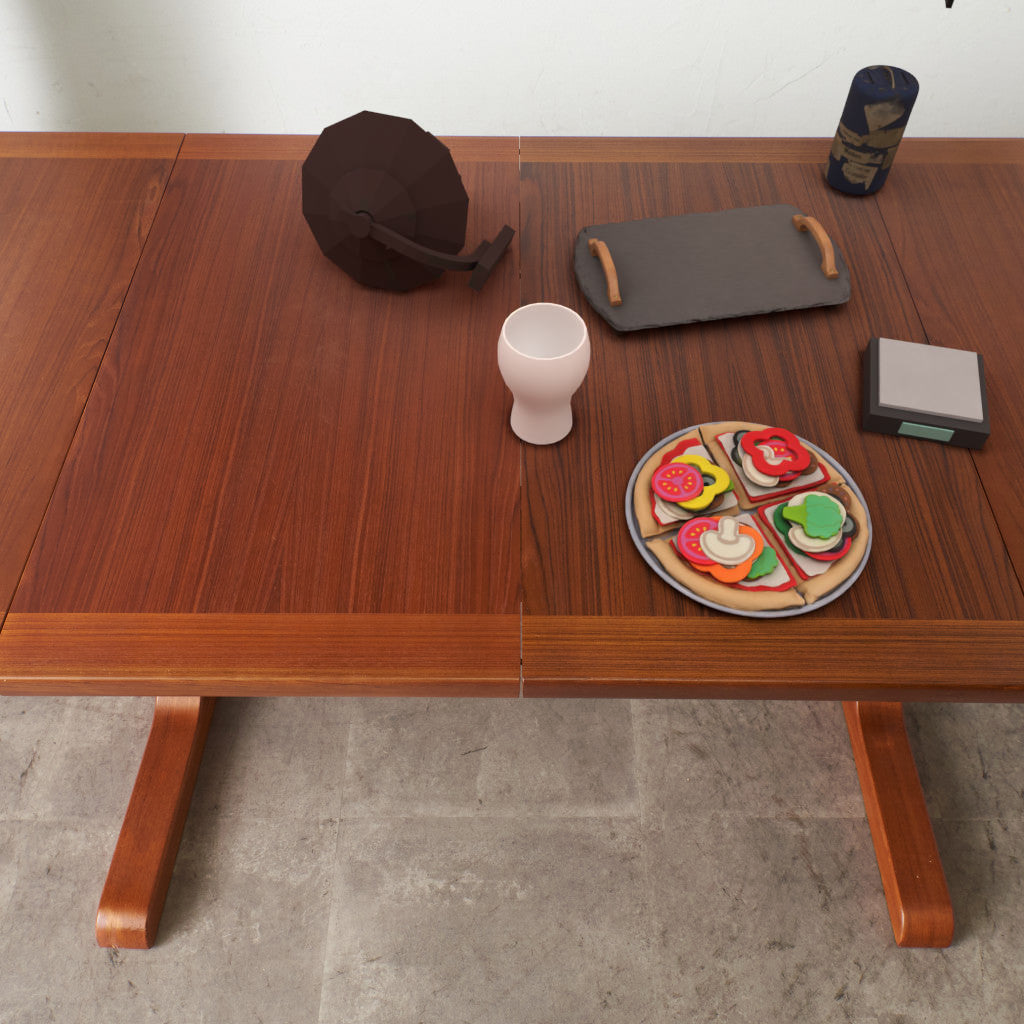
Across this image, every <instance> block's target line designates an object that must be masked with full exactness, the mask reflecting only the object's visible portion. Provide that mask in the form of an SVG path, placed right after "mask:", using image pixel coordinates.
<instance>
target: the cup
mask: <svg viewBox="0 0 1024 1024" xmlns="http://www.w3.org/2000/svg"><path fill="white" fill-rule="evenodd" d="M590 359H591V342H590V336H589V331H588V328H587V326H586V323H585V321H584V319H583V318H582V317H581V316H580V315H579V313H577V312H576V311H574V310H573V309H571V308H569V307H566V306H564V305H562V304H558V303H552V302H536V303H530V304H529V303H528V304H527V305H524V306H521V307H519V308H517V309H515V310H514V311H513V312H511V313H510V314H509V315H508V317H506V318H505V321H504V322H503V325H502V328H501V329H500V334H499V337H498V341H497V365H498V368H499V371H500V375H501V376H502V379H503V381H504V384H505V385H506V386H507V388H508V389H509V390H510V392H511V393H512V396H513V404H512V409H511V415H510V426H511V429H512V431H513V433H514V434H515V435H516V436H517V437H518V438H520V439H521V440H522V441H524V442H527V443H530V444H533V445H550V444H554V443H557V442H559V441H561V440H563V439H564V438H565V437H567V435H568V434H569V433H570V432H571V430H572V427H573V413H572V412H573V411H572V406H571V401H572V396H573V395H574V394H575V393H576V392H577V390H578V389H579V387H580V386H581V385H582V383H583V381H584V379H585V377H586V375H587V373H588V370H589V366H590V362H591V360H590Z"/></svg>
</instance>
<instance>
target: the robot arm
mask: <svg viewBox="0 0 1024 1024" xmlns="http://www.w3.org/2000/svg"><path fill="white" fill-rule="evenodd" d="M954 2H955V0H944V4H945V9H952V8H953V6H954Z"/></svg>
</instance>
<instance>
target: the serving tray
mask: <svg viewBox="0 0 1024 1024" xmlns="http://www.w3.org/2000/svg"><path fill="white" fill-rule="evenodd" d="M572 249H573V250H572V251H573V253H572V260H573V266H572V271H573V273H574V276H575V279H576V282H577V284H578V287H579V291H580V292H581V293H582V295H583V296H584V298H585V300H586V301H587V302H588V303H589V306H591V308H593V310H594V311H595V312H596V313H597V314H598V315H599V316H600V317H601V318H602V319H604V321H606V323H607V324H608V325H610V329H611V332H612V333H613V335H614V336H615V337H617V338H619V337H623V336H624V334H626V332H629V331H630V332H632V331H640V330H645V329H646V330H647V329H654V328H655V329H656V328H658V329H659V328H662V327H669V326H676V325H688V324H693V323H698V322H701V323H702V322H707V321H718V320H724V319H730V318H739V317H750V316H755V315H765V314H771V313H780V312H787V311H793V310H800V309H801V310H802V309H809V308H817V307H825V306H827V307H828V308H829V309H831V310H835V309H837V308H838V307H840V306H841V305H842V304H845V303H848V302H849V301H850V299H851V297H852V283H851V278H852V277H851V273H850V269H849V266H848V264H847V262H846V259H845V257H844V254H843V251H842V250H841V248H840V247H839V245H838V243H837V242H836V241H835V239H834V238H833V237H832V236H831V235H830V234H829V233H828V232H827V231H826V230H825V229H824V227H823V226H822V223H820V222H819V221H818V220H817V219H816V218H815V217H813V216H809V215H808V214H807V213H805V212H803V211H802V210H801V208H798V207H796V206H794V205H792V204H789V203H775V204H766V205H765V204H764V205H757V206H748V207H735V208H728V209H723V210H717V211H709V212H691V213H682V214H677V215H668V216H662V217H644V218H641V219H634V220H631V221H628V220H627V221H626V220H625V221H621V222H608V223H602V224H591V225H587V226H584V227H582V228H581V229H580V230H579V231H578V233H577V235H576V241H575V245H574V248H572Z"/></svg>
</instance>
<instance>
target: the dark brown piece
mask: <svg viewBox="0 0 1024 1024" xmlns="http://www.w3.org/2000/svg"><path fill="white" fill-rule="evenodd" d="M469 205H470V198H469V195H468V193H467V190H466V188H465V185H464V183H463V180H462V175H461V174H460V173H459V170H458V169H457V166H456V163H455V161H454V158H453V156H452V153H451V149H450V148H449V147H448V146H446V144H445V143H443V142H442V141H441V140H440V139H439V138H437V137H436V136H435V135H434V134H433V133H431V131H429V130H427V131H426V130H425V129H424V128H423V127H421V126H420V125H419V124H418V123H416V121H414V120H413V119H412V118H407V117H402V116H397V115H391V114H387V113H382V112H377V111H371V110H366V109H364V110H362V111H359V112H357V113H355V114H353V115H350V116H348V117H346V118H344V119H341V120H340V121H337V122H334V123H333V124H330V125H328V126H326V127H324V128H323V130H322V131H321V133H320V134H319V136H318V138H317V140H316V141H315V143H314V145H313V146H312V147H311V150H310V152H309V153H308V155H307V157H306V158H305V160H304V162H303V164H301V213H302V215H303V217H304V219H305V221H306V223H307V225H308V227H309V230H310V231H311V233H312V235H313V237H314V239H315V241H316V243H317V246H318V247H319V249H320V251H321V253H322V256H323V257H325V258H327V259H328V260H329V261H330V262H332V263H333V264H334V265H335V266H337V267H338V268H339V269H340V270H341V271H343V272H344V273H345V274H347V275H348V276H349V277H350V278H351V279H353V280H354V281H355V282H357V283H358V284H359V285H360V284H361V285H365V286H369V287H374V288H379V289H383V290H388V291H394V292H398V293H403V292H405V291H408V290H411V289H414V288H417V287H420V286H422V285H426V284H428V283H431V282H434V281H437V280H440V279H441V277H442V276H443V274H444V273H445V272H446V271H449V272H451V271H452V272H459V273H460V272H461V273H463V272H466V273H467V272H471V271H473V272H472V274H471V276H470V277H469V278H470V279H469V280H468V283H467V287H468V288H471V289H472V290H473V291H475V292H476V293H477V294H479V293H480V291H481V290H482V289H483V287H484V286H485V284H486V283H487V281H488V279H489V278H490V277H491V275H492V274H493V272H494V271H495V270H496V267H497V266H498V265H499V264H500V262H501V260H502V259H503V257H504V256H505V254H506V253H507V251H508V250H509V249H508V248H509V246H510V245H511V242H512V241H513V238H514V236H515V234H516V232H517V231H516V230H515V229H514V228H512V227H510V226H509V225H508V224H506V223H505V224H504V226H503V227H502V228H501V230H500V231H499V232H498V234H497V235H496V237H495V238H494V239H493V240H492V242H490V241H488V240H486V239H484V238H483V240H481V242H480V244H479V245H478V246H477V247H476V249H475V250H474V251H473V252H472V253H470V254H466V255H459V254H460V252H461V251H462V250H463V248H464V247H465V244H466V236H467V235H466V233H467V225H468V215H469V214H468V213H469Z"/></svg>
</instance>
